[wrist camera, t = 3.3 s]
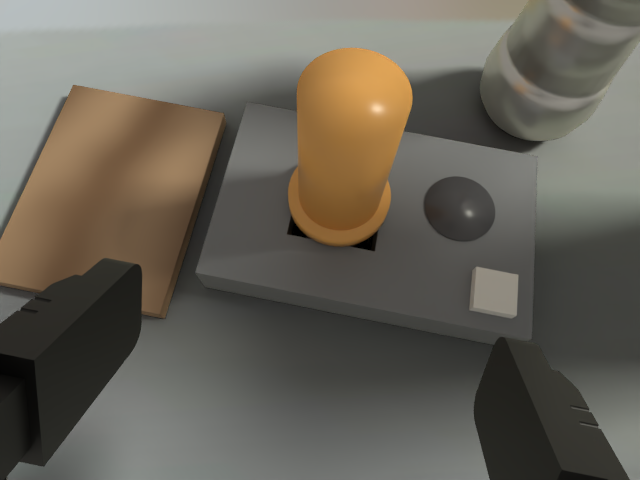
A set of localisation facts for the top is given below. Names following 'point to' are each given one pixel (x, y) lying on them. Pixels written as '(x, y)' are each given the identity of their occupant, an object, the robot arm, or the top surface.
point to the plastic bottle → (557, 64)
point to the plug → (347, 144)
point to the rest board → (113, 193)
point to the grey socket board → (385, 236)
